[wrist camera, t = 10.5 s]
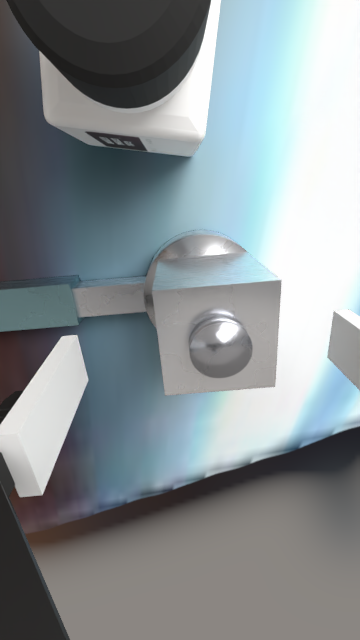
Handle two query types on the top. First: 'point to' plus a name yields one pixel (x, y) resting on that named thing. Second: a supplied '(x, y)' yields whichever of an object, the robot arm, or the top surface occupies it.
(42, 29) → the container
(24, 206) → the top surface
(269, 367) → the cube with chrome knob
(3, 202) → the top surface
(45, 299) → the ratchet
